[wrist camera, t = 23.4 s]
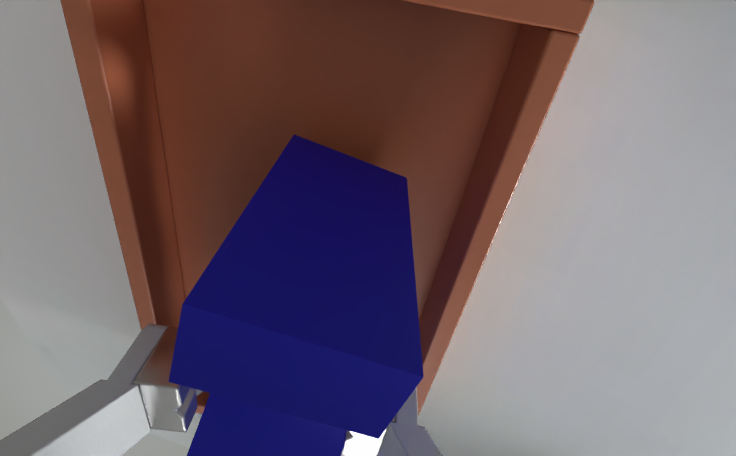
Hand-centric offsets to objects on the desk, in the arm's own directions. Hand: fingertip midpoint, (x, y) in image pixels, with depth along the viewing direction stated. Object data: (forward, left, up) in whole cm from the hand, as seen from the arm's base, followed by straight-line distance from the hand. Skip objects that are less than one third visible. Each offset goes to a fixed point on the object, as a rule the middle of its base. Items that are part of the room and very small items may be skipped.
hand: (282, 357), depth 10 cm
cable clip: (-1, 0, -3) cm, 3 cm away
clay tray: (+1, 0, -5) cm, 5 cm away
